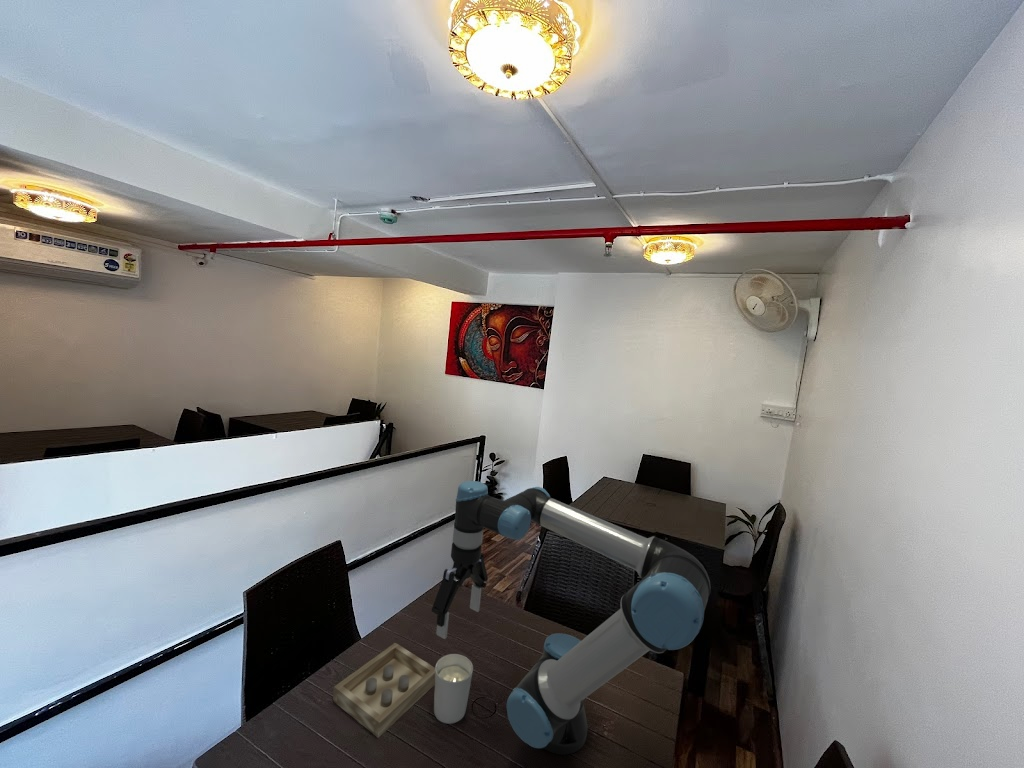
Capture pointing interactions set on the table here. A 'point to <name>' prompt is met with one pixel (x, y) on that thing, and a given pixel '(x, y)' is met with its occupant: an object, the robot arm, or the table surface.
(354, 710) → the peg frame
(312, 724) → the table surface
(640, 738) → the table surface
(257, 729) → the table surface
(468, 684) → the candle holder
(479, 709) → the table surface
